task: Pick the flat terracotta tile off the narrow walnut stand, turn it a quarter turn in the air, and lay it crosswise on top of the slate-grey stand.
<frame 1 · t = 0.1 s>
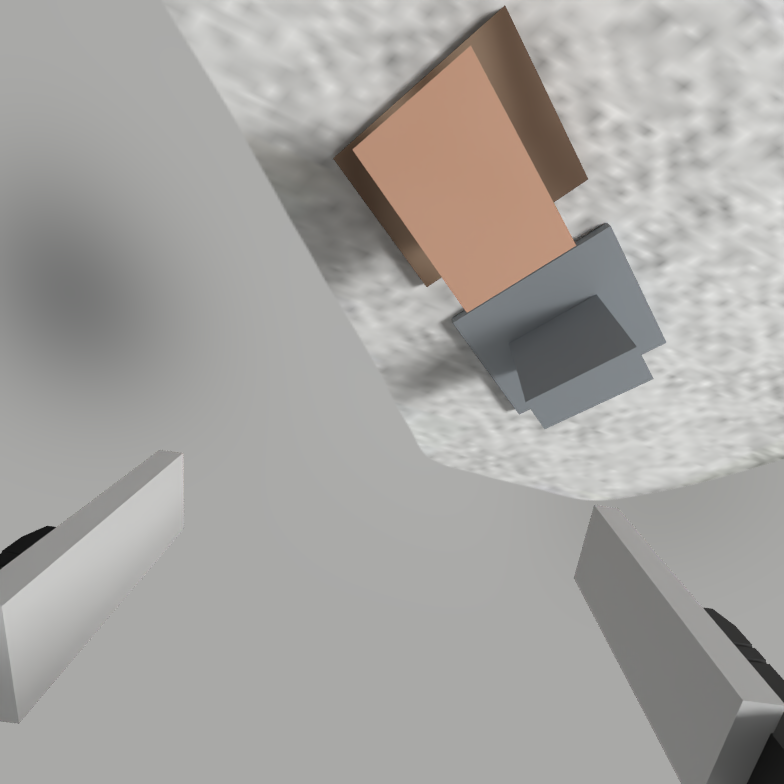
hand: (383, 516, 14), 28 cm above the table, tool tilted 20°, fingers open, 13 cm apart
slate stand: (556, 327, 40), on the table
walnut stand: (459, 166, 33), on the table
terracotta tile: (466, 193, 25), point 10 cm above the table, touching walnut stand
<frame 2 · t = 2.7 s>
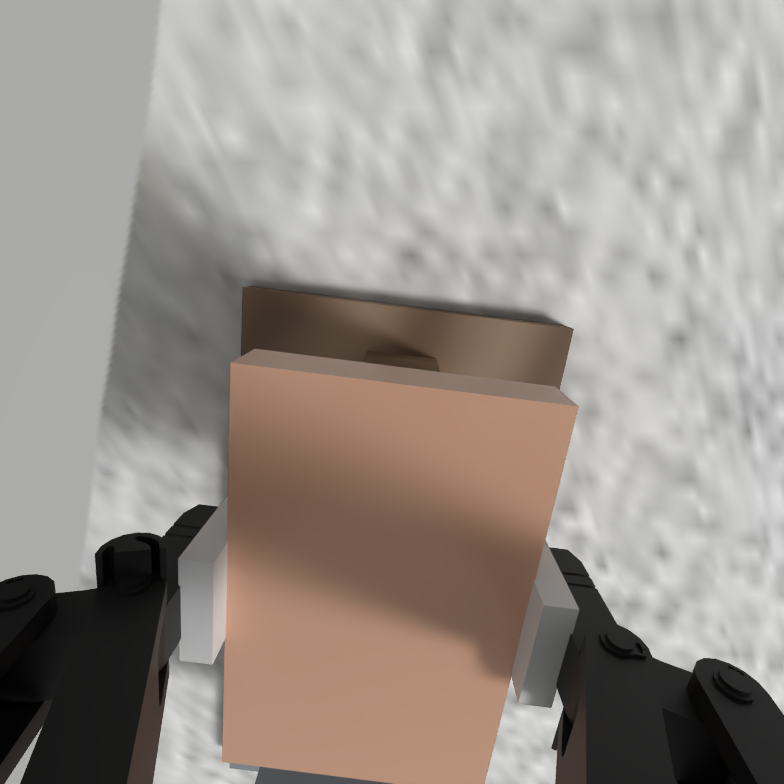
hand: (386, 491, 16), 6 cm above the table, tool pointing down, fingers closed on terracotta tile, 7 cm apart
slate stand: (358, 689, 26), on the table
walnut stand: (391, 432, 22), on the table
terracotta tile: (378, 568, 12), point 10 cm above the table, touching gripper, walnut stand
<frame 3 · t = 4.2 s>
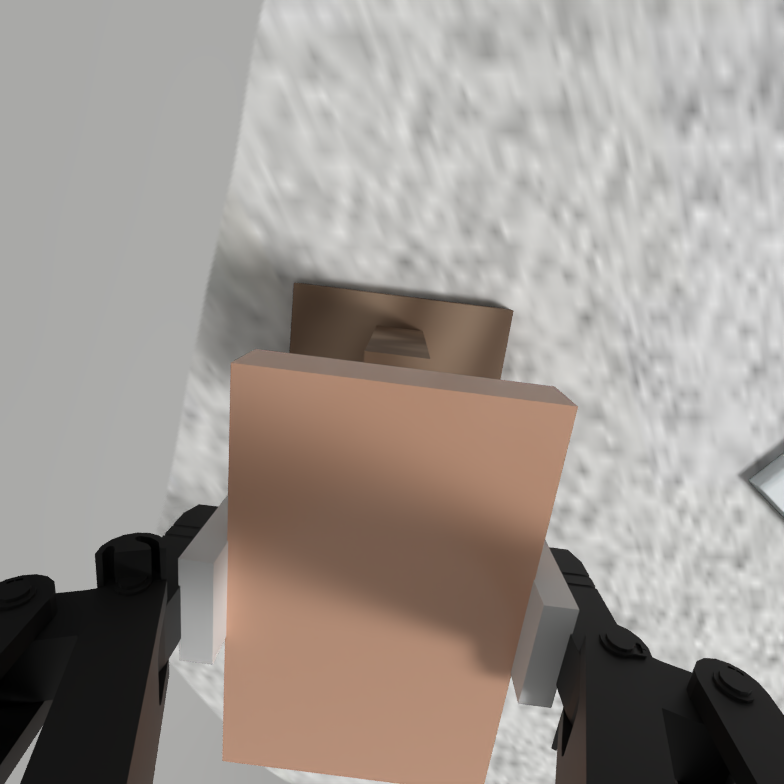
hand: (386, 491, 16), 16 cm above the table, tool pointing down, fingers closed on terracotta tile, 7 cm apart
walnut stand: (392, 384, 31), on the table
terracotta tile: (378, 567, 12), point 20 cm above the table, touching gripper
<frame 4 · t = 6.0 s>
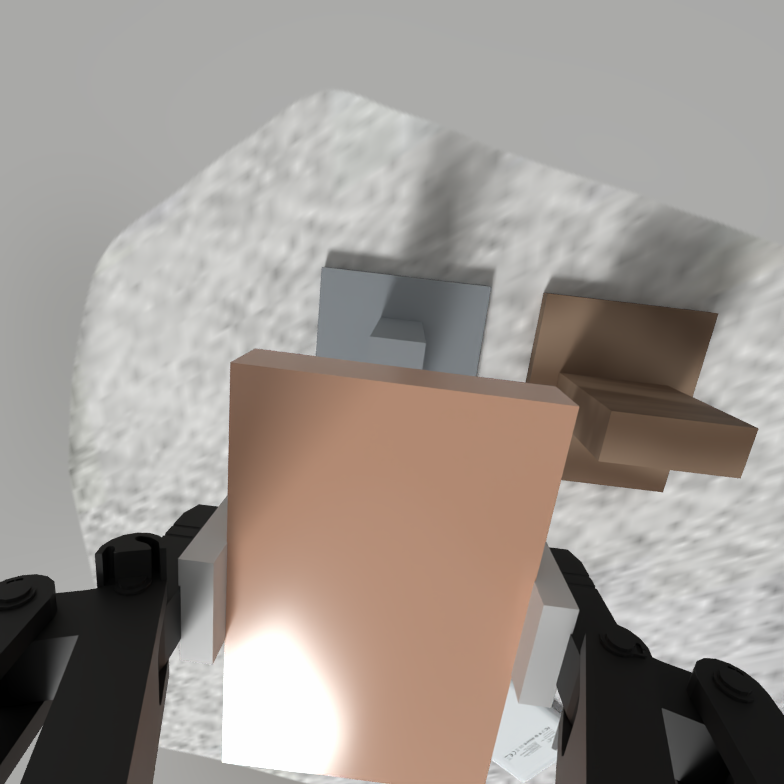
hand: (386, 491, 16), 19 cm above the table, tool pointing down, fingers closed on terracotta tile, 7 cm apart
external hard drive: (505, 712, 44), on the table
slate stand: (395, 370, 35), on the table
walnut stand: (603, 394, 35), on the table
terracotta tile: (378, 568, 12), point 24 cm above the table, touching gripper
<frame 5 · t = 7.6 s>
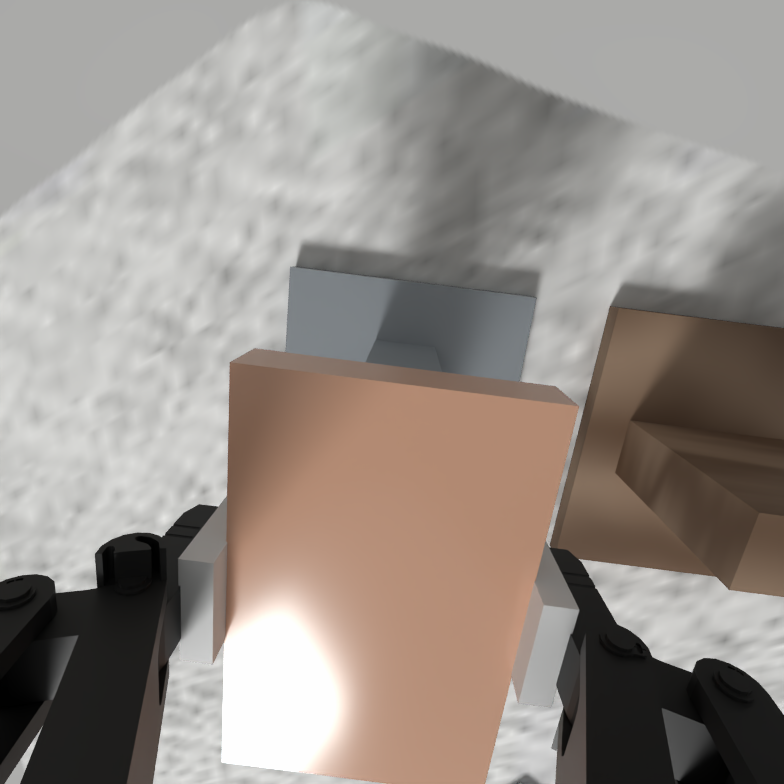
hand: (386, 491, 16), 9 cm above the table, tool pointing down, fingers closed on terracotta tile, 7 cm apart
slate stand: (396, 412, 25), on the table
walnut stand: (686, 449, 25), on the table
terracotta tile: (378, 568, 12), point 13 cm above the table, touching gripper
when the fingers open (7 cm above the table, at t = 8.8 s): terracotta tile drops 1 cm, resting on slate stand.
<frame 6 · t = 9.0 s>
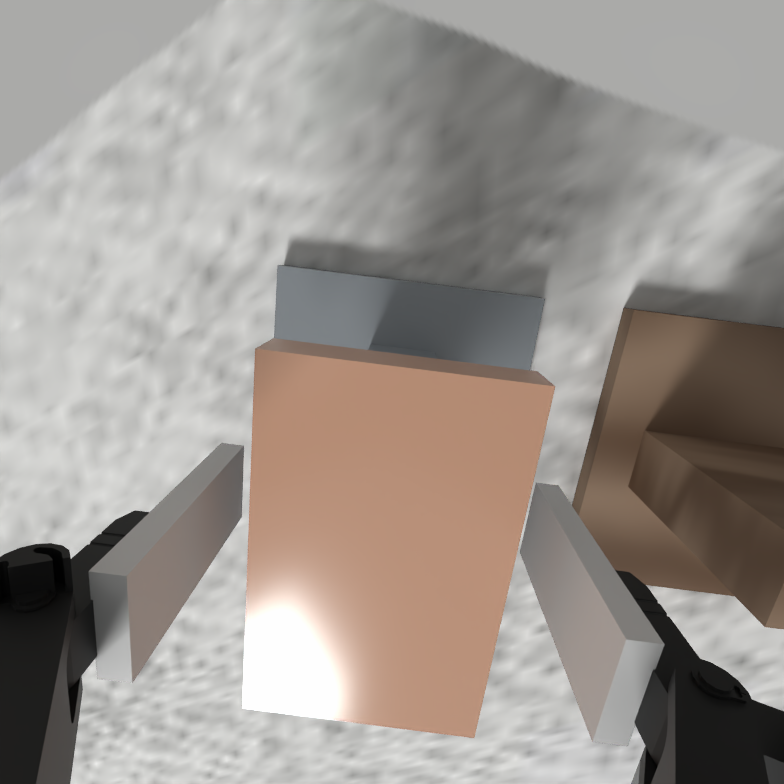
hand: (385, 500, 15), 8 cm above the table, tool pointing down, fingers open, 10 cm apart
slate stand: (393, 421, 23), on the table
walnut stand: (704, 460, 23), on the table
terracotta tile: (381, 535, 13), point 10 cm above the table, touching slate stand
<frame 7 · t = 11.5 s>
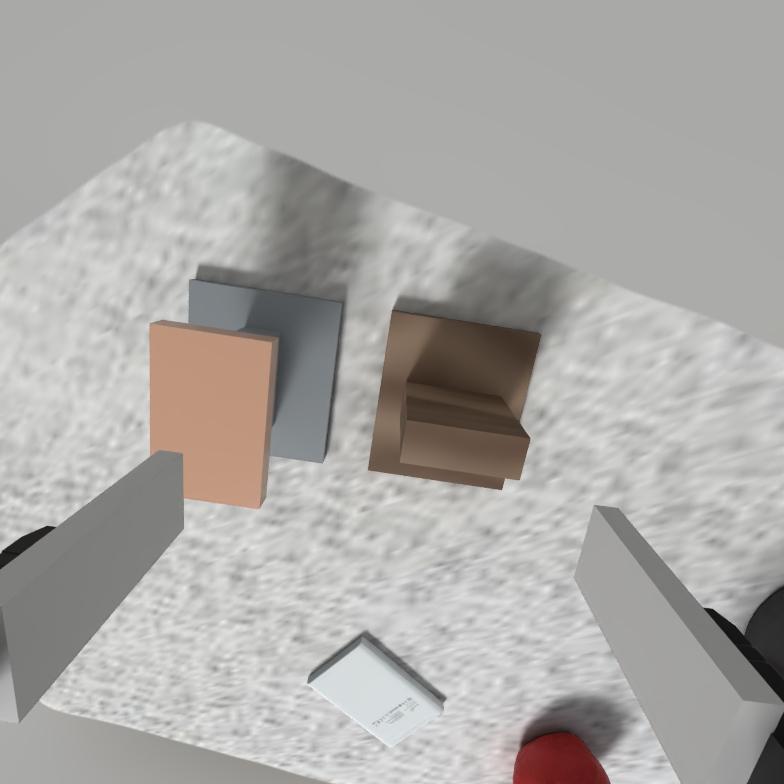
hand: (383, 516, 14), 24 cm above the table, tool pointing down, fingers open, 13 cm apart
external hard drive: (376, 684, 49), on the table
pomegranate: (549, 751, 51), on the table
slate stand: (263, 373, 38), on the table
walnut stand: (448, 402, 39), on the table
terracotta tile: (217, 413, 29), point 10 cm above the table, touching slate stand
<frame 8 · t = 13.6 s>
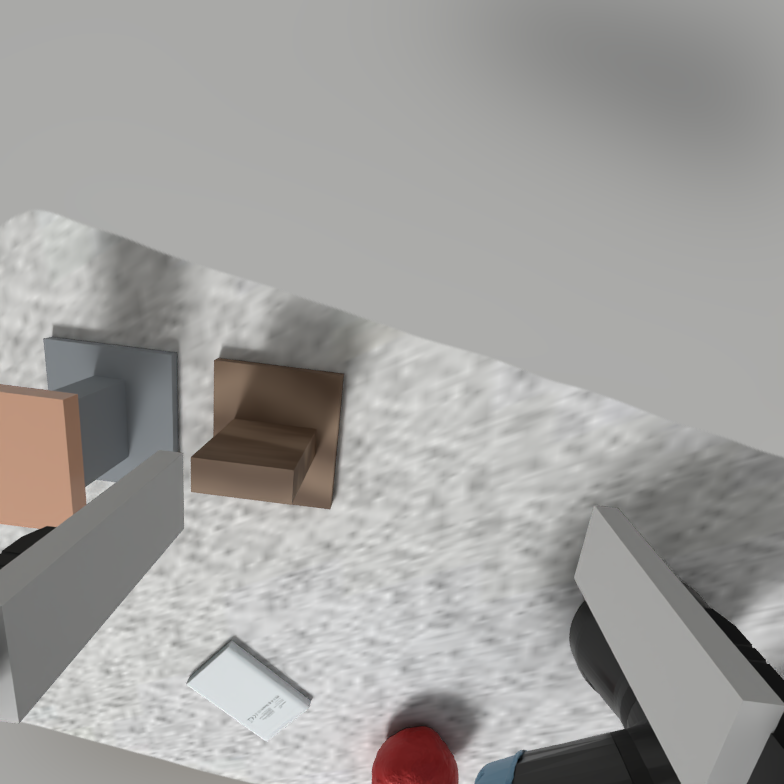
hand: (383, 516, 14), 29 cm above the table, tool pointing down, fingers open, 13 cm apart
external hard drive: (252, 684, 55), on the table
pomegranate: (414, 744, 56), on the table
slate stand: (117, 414, 45), on the table
walnut stand: (277, 434, 45), on the table
terracotta tile: (38, 455, 35), point 10 cm above the table, touching slate stand
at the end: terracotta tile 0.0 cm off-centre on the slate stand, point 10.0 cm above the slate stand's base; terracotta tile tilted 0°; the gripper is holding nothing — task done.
